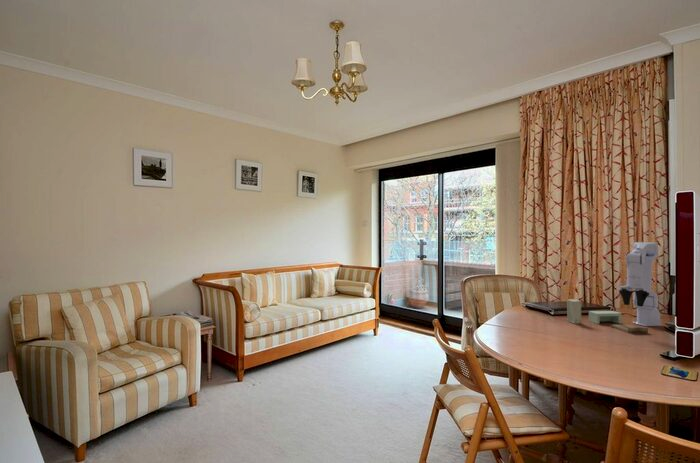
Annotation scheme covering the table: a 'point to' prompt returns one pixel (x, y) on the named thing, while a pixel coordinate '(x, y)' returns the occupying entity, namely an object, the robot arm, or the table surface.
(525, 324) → the table surface
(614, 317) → the shelf
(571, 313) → the skincare box
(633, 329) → the board
